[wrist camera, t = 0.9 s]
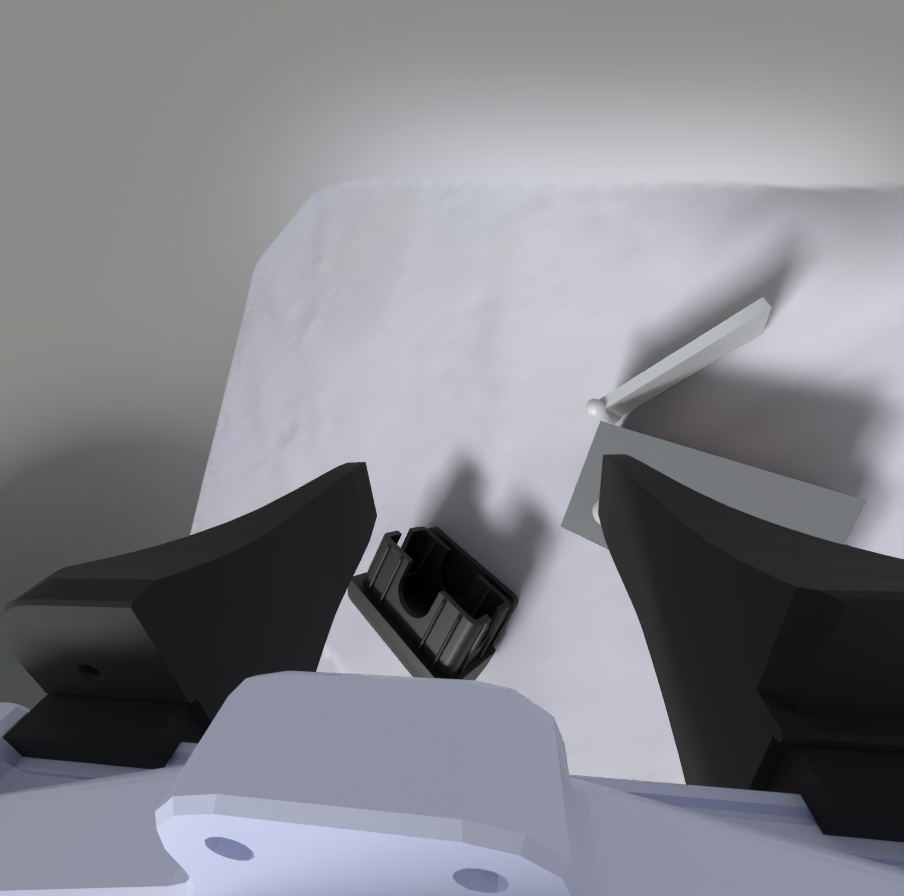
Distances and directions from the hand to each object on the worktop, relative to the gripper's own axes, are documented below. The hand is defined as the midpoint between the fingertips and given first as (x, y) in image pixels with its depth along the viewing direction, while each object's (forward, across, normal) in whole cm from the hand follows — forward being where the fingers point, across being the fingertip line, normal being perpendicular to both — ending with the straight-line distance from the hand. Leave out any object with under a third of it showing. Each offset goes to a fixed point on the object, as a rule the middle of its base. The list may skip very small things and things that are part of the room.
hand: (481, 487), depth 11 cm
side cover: (+12, -11, +1) cm, 16 cm away
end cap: (+12, +3, +17) cm, 21 cm away
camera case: (+9, -11, +7) cm, 16 cm away
